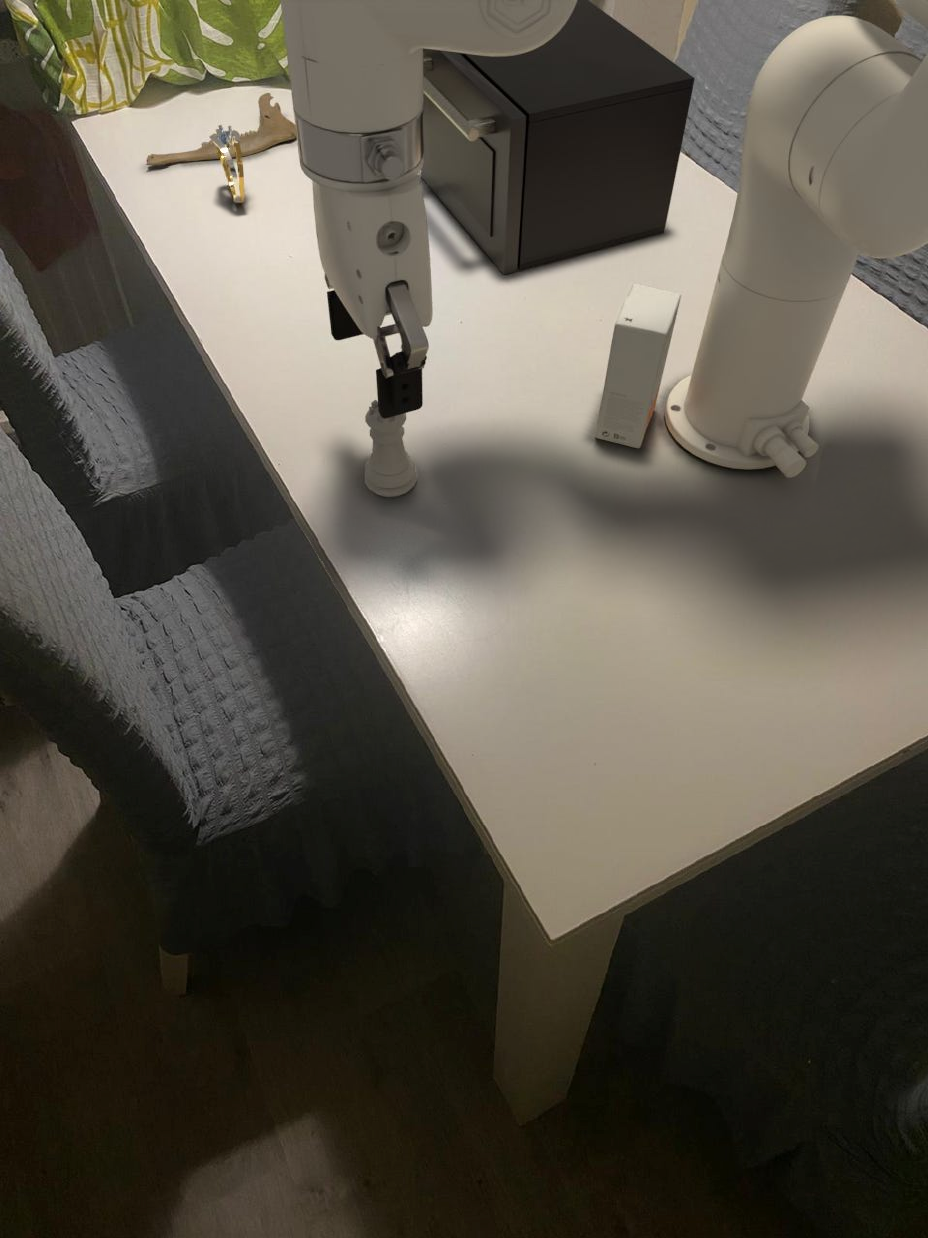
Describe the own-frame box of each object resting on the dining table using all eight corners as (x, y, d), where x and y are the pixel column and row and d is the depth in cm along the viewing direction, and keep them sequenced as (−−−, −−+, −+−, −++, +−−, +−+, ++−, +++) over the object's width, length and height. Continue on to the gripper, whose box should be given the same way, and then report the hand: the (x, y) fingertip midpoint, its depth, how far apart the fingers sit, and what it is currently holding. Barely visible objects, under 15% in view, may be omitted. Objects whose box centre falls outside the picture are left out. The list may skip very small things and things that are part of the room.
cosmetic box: (640, 450, 79) (666, 335, 69) (593, 439, 80) (613, 323, 70) (656, 407, 82) (683, 291, 73) (611, 396, 83) (631, 280, 73)
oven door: (477, 282, 93) (480, 126, 81) (396, 182, 105) (388, 32, 93) (517, 271, 95) (526, 116, 82) (433, 173, 106) (430, 24, 94)
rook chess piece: (420, 464, 78) (417, 391, 71) (413, 502, 75) (409, 429, 69) (369, 461, 78) (361, 387, 71) (360, 498, 75) (351, 425, 69)
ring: (257, 213, 101) (244, 141, 95) (229, 218, 101) (213, 146, 94) (245, 183, 105) (232, 111, 99) (218, 187, 105) (202, 116, 98)
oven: (519, 272, 95) (529, 113, 82) (435, 174, 107) (432, 22, 94) (664, 233, 99) (695, 77, 87) (568, 144, 111) (582, -5, 98)
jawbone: (319, 133, 113) (318, 116, 112) (195, 200, 104) (191, 183, 103) (269, 105, 116) (267, 88, 114) (143, 168, 107) (139, 151, 105)
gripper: (480, 194, 50) (470, 430, 63) (366, 66, 59) (379, 297, 73) (352, 221, 48) (371, 459, 61) (255, 85, 57) (290, 318, 71)
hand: (375, 371), depth 67 cm, fingers open, 9 cm apart
